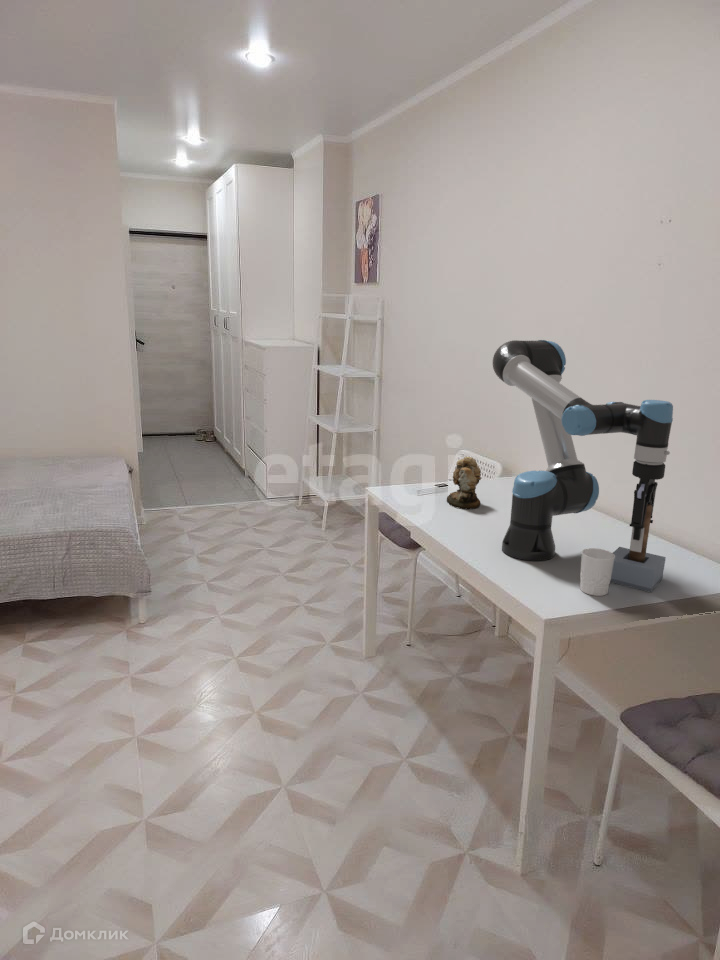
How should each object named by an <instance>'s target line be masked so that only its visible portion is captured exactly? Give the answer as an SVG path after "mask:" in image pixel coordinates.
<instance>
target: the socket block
mask: <svg viewBox="0 0 720 960" xmlns="http://www.w3.org/2000/svg"><path fill="white" fill-rule="evenodd" d="M629 551H630V548H627V547H622V546H619V547H618V548H616V550H614V551H613V552H612V553H613V554H614V555H615V559H614V565H613V571H612V575H611V580H610V583H612V584H617V585H621V586H625V587H628V588H632V589H636V590H640V591H643V592H644V591H645V592H649V593H652V592H653V591H654V590H655V588H656V587H657V585H659V583H660V582H661V581H662V580H663V578H664V573H665V571H664V570H665V563H666V557H665V556H661V555H658V554H653V553H648V552H646V556H645V561H644V562H636V561H632V560H629Z"/></svg>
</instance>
